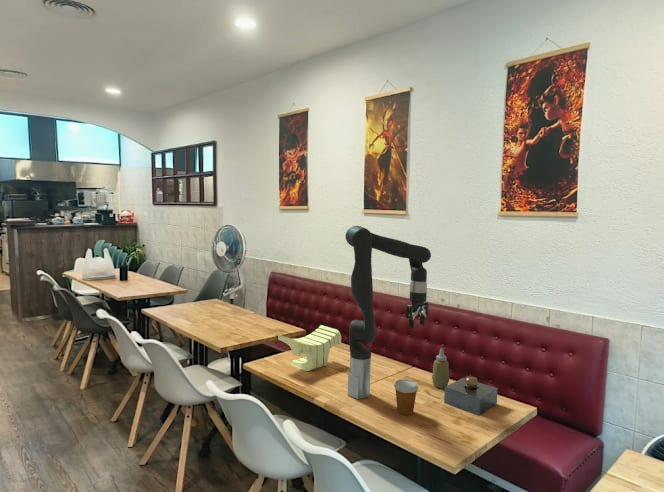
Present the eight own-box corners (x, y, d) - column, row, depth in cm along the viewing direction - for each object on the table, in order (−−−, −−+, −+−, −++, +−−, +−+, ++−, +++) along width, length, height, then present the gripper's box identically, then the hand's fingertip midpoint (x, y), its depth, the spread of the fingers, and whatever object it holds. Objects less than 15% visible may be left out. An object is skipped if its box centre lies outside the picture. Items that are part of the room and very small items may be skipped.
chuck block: (479, 415, 175) (480, 398, 175) (444, 402, 187) (444, 386, 186) (496, 404, 187) (497, 388, 186) (462, 392, 198) (463, 377, 197)
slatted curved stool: (297, 376, 212) (298, 341, 211) (277, 368, 224) (278, 334, 222) (340, 363, 233) (341, 330, 232) (320, 356, 245) (321, 325, 243)
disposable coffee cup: (411, 419, 170) (413, 389, 169) (389, 413, 175) (390, 384, 175) (420, 410, 178) (421, 382, 178) (399, 404, 183) (400, 377, 183)
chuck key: (472, 406, 183) (473, 381, 182) (462, 403, 187) (463, 378, 186) (478, 403, 187) (479, 378, 186) (467, 400, 190) (468, 375, 189)
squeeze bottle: (452, 386, 205) (453, 349, 204) (443, 391, 199) (445, 352, 198) (436, 381, 211) (438, 345, 209) (428, 386, 205) (429, 348, 204)
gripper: (416, 293, 188) (414, 330, 189) (434, 290, 198) (432, 325, 199) (402, 291, 193) (400, 327, 194) (420, 288, 203) (418, 322, 204)
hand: (416, 326), depth 197 cm, fingers open, 8 cm apart
